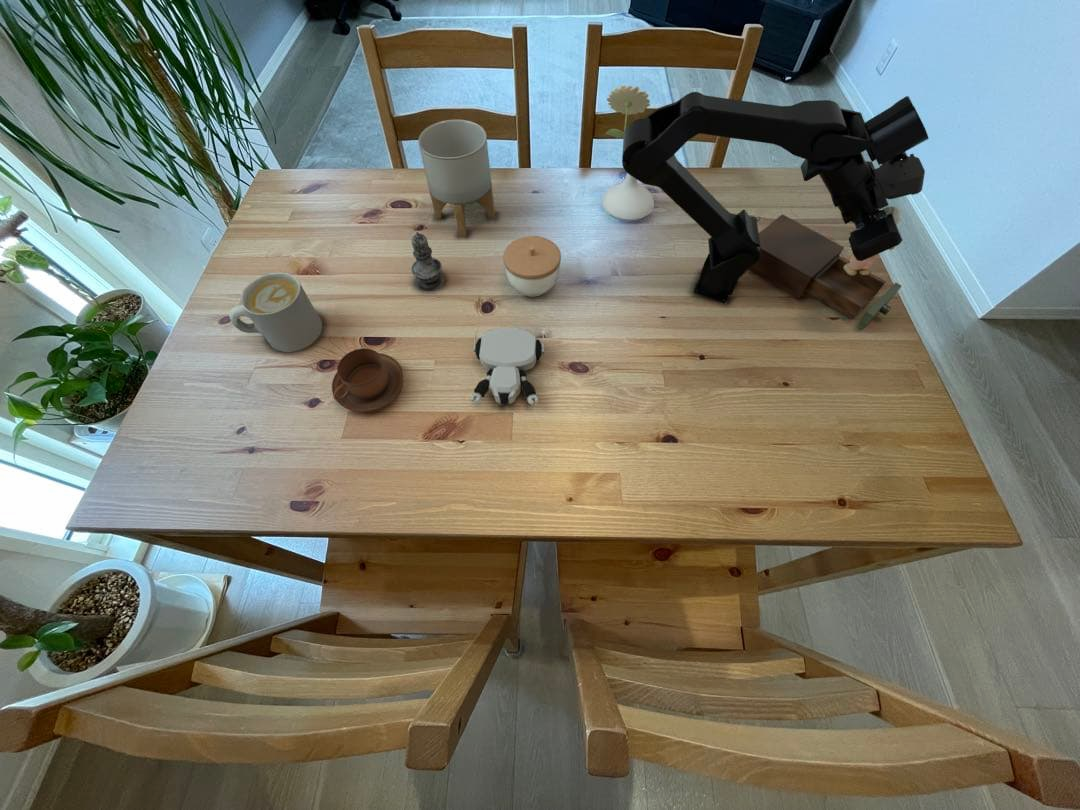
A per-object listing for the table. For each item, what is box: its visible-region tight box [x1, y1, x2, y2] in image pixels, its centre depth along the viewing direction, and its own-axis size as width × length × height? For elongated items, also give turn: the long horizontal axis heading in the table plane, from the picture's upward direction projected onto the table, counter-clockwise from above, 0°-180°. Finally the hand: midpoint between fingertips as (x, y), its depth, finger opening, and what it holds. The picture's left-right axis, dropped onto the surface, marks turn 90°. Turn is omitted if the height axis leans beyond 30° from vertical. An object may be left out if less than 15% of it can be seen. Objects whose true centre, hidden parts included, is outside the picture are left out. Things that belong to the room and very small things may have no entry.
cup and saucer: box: [331, 347, 404, 413], centre depth 86 cm, size 12×12×6 cm
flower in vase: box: [601, 84, 655, 222], centre depth 102 cm, size 13×11×25 cm
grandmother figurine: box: [843, 206, 902, 275], centre depth 87 cm, size 8×4×13 cm, turn 99°
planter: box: [417, 119, 496, 237], centre depth 105 cm, size 13×13×18 cm
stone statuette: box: [410, 231, 444, 292], centre depth 97 cm, size 6×6×12 cm
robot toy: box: [469, 326, 545, 406], centre depth 88 cm, size 12×4×15 cm
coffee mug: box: [229, 271, 323, 353], centre depth 91 cm, size 13×10×10 cm
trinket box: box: [502, 235, 562, 298], centre depth 97 cm, size 11×11×9 cm
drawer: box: [805, 255, 902, 330], centre depth 95 cm, size 14×10×4 cm
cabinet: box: [748, 214, 845, 300], centre depth 100 cm, size 14×12×6 cm
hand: (881, 241), depth 87 cm, fingers closed on grandmother figurine, 3 cm apart
